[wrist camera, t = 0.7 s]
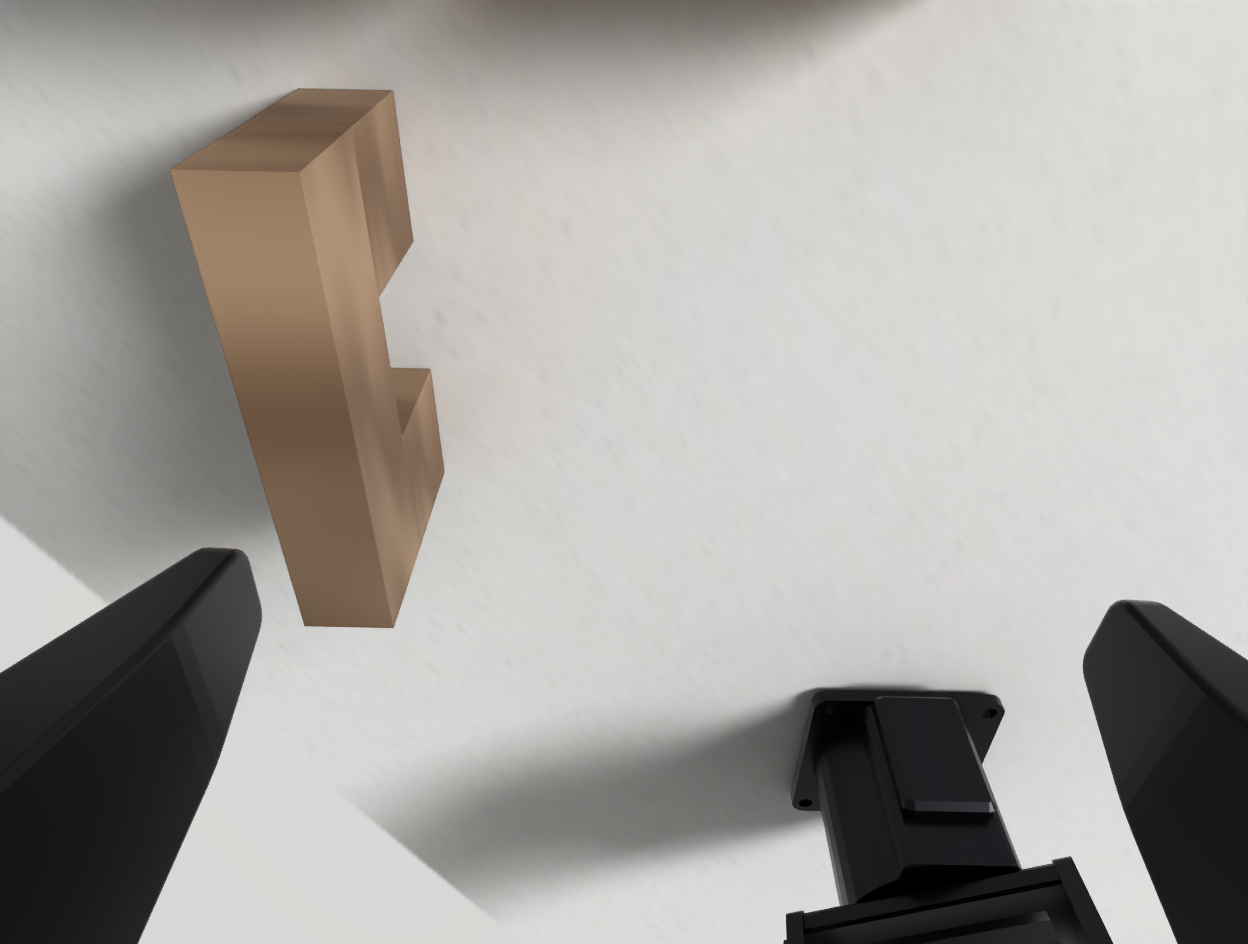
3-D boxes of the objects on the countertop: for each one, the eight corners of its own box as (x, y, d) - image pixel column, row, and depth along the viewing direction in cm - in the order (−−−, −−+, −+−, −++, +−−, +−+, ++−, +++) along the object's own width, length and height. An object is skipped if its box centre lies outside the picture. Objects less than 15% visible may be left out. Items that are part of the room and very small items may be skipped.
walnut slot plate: (444, 472, 24) (393, 627, 19) (373, 470, 24) (304, 626, 19) (393, 90, 18) (298, 172, 13) (298, 88, 18) (169, 169, 13)
